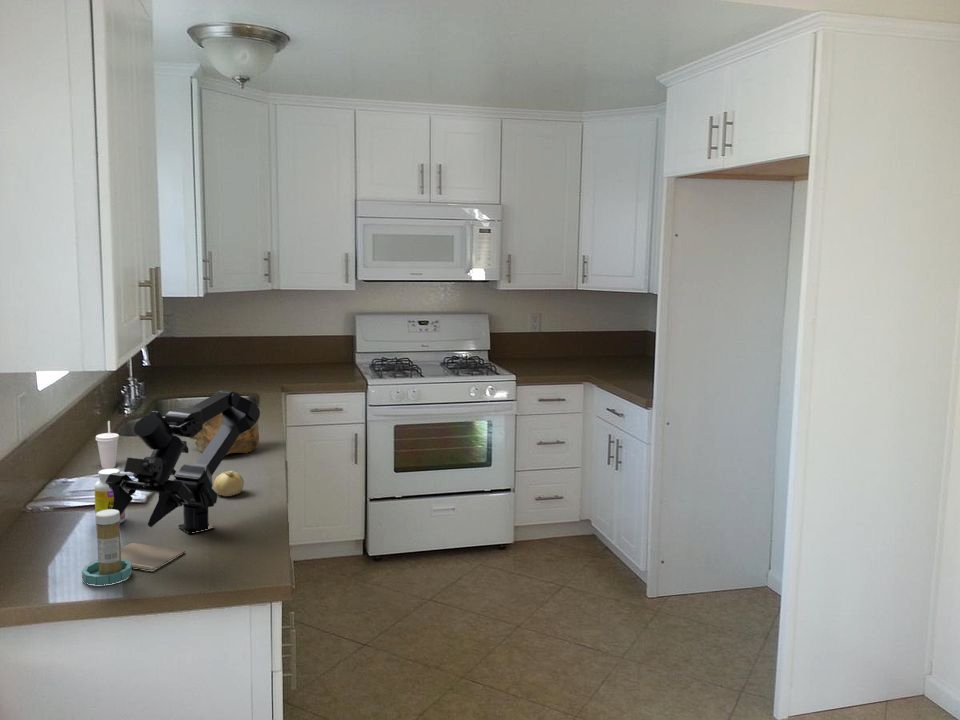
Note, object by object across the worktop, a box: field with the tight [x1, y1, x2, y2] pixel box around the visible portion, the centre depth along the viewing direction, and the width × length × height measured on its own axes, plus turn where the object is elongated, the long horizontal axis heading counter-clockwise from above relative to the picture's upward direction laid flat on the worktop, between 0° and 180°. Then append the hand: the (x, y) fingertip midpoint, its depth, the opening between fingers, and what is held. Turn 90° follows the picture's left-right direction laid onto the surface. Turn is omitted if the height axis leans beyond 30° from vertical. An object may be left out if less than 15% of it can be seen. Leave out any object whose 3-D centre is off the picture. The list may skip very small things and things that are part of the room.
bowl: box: [81, 559, 133, 585], centre depth 169 cm, size 9×9×2 cm
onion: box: [213, 470, 245, 497], centre depth 223 cm, size 8×8×7 cm
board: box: [96, 542, 186, 570], centre depth 179 cm, size 11×14×1 cm
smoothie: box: [95, 420, 120, 470], centre depth 244 cm, size 6×6×14 cm
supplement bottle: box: [94, 468, 126, 525], centre depth 199 cm, size 7×7×13 cm
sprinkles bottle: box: [94, 509, 122, 575], centre depth 168 cm, size 5×5×13 cm
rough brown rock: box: [188, 413, 260, 456], centre depth 261 cm, size 23×17×15 cm
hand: (131, 523), depth 175 cm, fingers open, 9 cm apart
